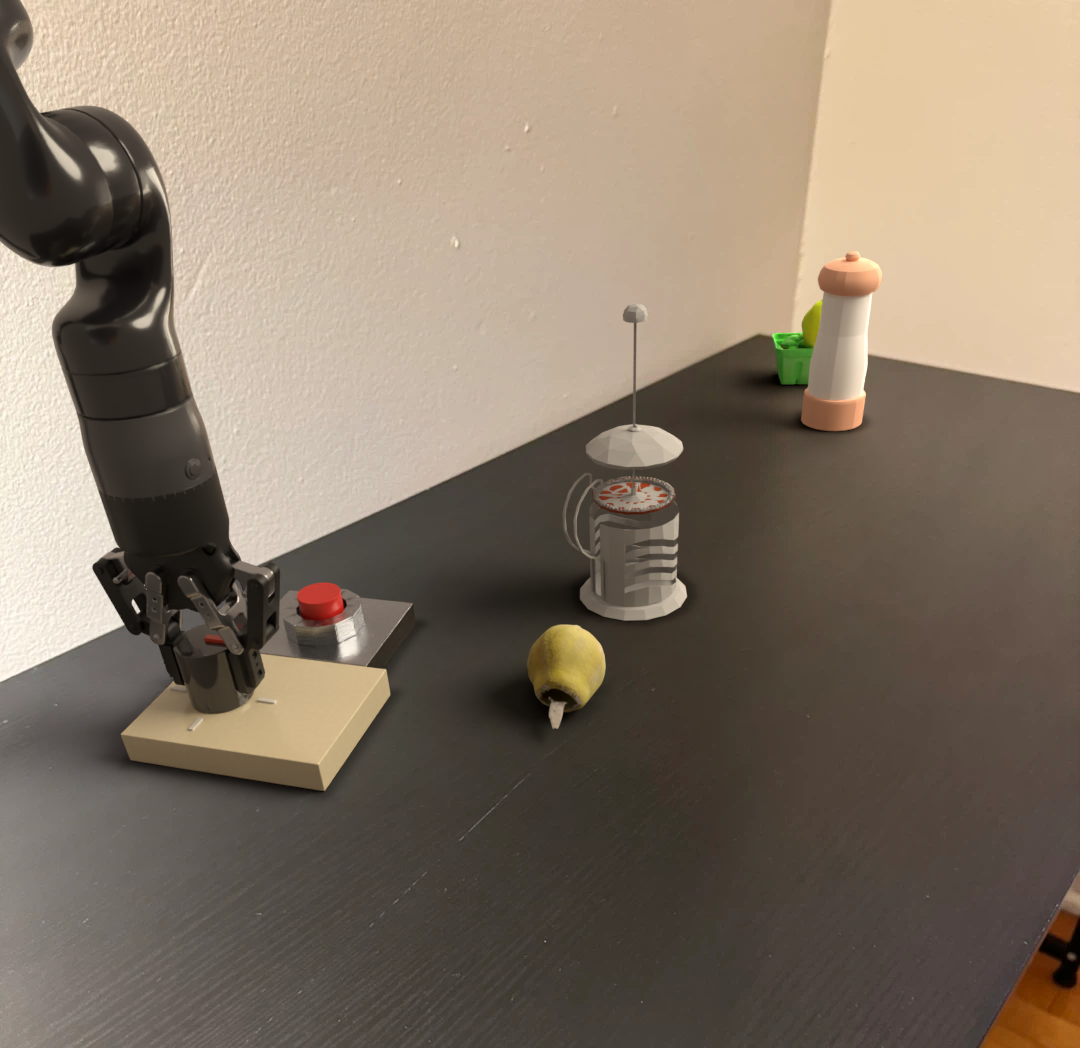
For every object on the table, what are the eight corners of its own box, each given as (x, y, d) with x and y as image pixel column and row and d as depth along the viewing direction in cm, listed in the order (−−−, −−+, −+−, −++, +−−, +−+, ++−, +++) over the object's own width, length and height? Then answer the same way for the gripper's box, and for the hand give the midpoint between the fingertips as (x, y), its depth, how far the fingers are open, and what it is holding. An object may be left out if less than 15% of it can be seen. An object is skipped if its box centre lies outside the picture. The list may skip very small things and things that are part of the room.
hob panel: (130, 760, 73) (119, 732, 71) (214, 671, 82) (206, 645, 80) (324, 791, 69) (317, 762, 67) (391, 694, 78) (386, 667, 76)
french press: (709, 598, 88) (728, 304, 73) (602, 639, 83) (598, 334, 68) (644, 557, 95) (649, 280, 80) (542, 592, 90) (526, 307, 75)
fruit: (514, 739, 73) (524, 650, 80) (592, 756, 74) (595, 666, 80) (532, 685, 69) (541, 596, 76) (614, 703, 69) (616, 614, 76)
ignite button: (293, 620, 81) (289, 601, 80) (312, 598, 84) (308, 580, 83) (332, 624, 80) (328, 606, 79) (351, 602, 83) (347, 584, 82)
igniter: (238, 671, 82) (227, 630, 80) (294, 611, 90) (285, 572, 87) (370, 688, 79) (362, 646, 77) (416, 624, 87) (410, 584, 84)
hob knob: (177, 709, 73) (158, 649, 70) (211, 674, 77) (194, 616, 74) (234, 717, 72) (216, 657, 69) (266, 681, 76) (250, 622, 73)
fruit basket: (851, 369, 136) (863, 282, 129) (861, 390, 129) (875, 299, 122) (767, 370, 137) (775, 284, 130) (773, 391, 130) (782, 302, 123)
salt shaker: (872, 427, 118) (899, 255, 107) (816, 434, 117) (837, 262, 106) (845, 407, 124) (868, 242, 113) (791, 414, 123) (808, 248, 112)
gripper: (281, 454, 65) (326, 667, 75) (97, 441, 68) (165, 647, 79) (222, 501, 59) (280, 725, 69) (25, 485, 63) (108, 700, 73)
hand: (218, 682), depth 74 cm, fingers closed on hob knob, 5 cm apart
